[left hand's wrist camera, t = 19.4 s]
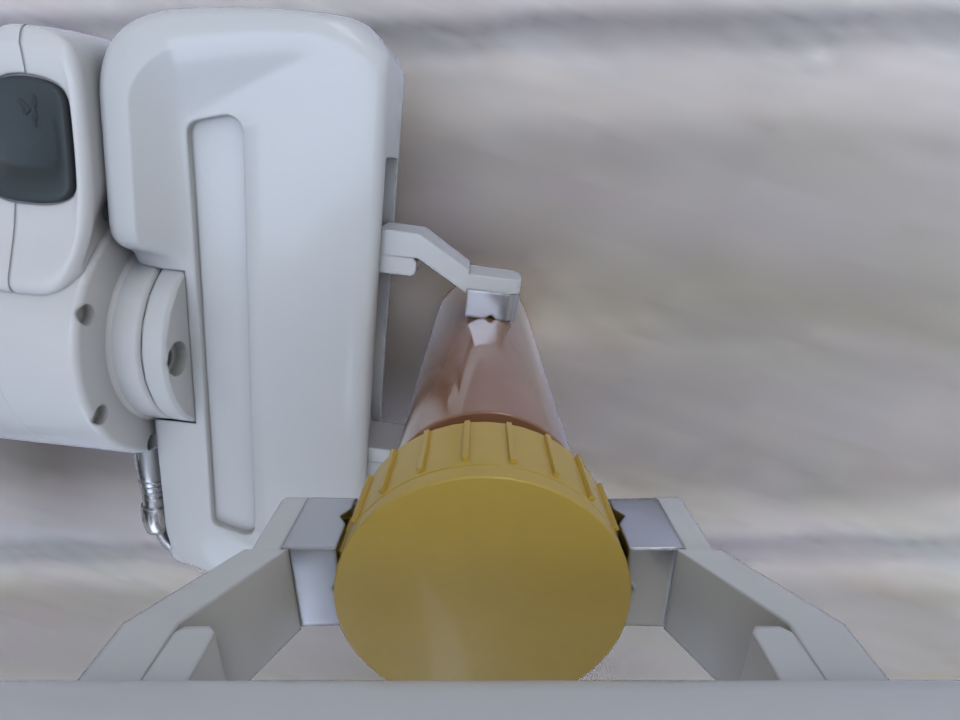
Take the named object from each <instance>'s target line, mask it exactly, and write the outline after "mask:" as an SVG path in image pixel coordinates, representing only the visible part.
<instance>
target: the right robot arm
mask: <svg viewBox="0 0 960 720" xmlns="http://www.w3.org/2000/svg"><path fill="white" fill-rule="evenodd" d="M403 89H404V75H403V71H402V68H401V66H400V65H399V63H398V61H397V60H396V58H395V57H394V55H393V54H392V52H391V51H390V49H389V48H388V47H387V45H386V44H385V43H384V42H383V40H382V39H381V38H380V37H379V36H378V35H377V34H376V33H375V32H374V31H373V30H372V29H371V28H370V27H368V26H367V25H365V24H364V23H362V22H360V21H358V20H356V19H353V18H349V17H345V16H341V15H335V14H328V13H322V12H311V11H301V10H291V9H275V8H253V7H202V8H181V9H171V10H164V11H159V12H154V13H151V14H148V15H145V16H142V17H140V18H138V19H136V20H134V21H132V22H131V23H129V24H128V25H126V26H125V27H124V28H123V29H122V30H120V31H119V32H118V33H117V35H116V36H115V37H114V38H113V40H112V41H110V40H107V39H103V38H100V37H96V36H92V35H87V34H83V33H78V32H74V31H69V30H63V29H58V28H51V27H45V26H37V25H28V24H7V25H4V26H1V27H0V438H2V439H11V440H21V441H30V442H39V443H48V444H57V445H66V446H75V447H84V448H93V449H103V450H112V451H121V452H131V453H134V461H135V469H136V474H137V478H138V481H139V484H140V488H141V493H142V503H141V517H142V522H143V525H144V527H145V529H146V531H147V533H149V534H152V535H156V536H157V538H158V540H159V541H160V542H161V544H162V545H163V546H164V547H165V548H166V549H167V550H168V551H170V552H171V555H172V557H173V558H174V559H175V560H177V561H180V562H183V563H186V564H191V565H193V566H195V567H197V568H199V569H202V570H205V571H210V570H212V569H213V568H215V567H216V566H218V565H220V564H221V563H223V562H225V561H226V560H228V559H230V558H231V557H233V556H234V555H236V554H238V553H239V552H241V551H243V550H244V549H252V548H253V547H254V545H255V543H256V542H257V540H258V539H259V537H260V535H261V534H262V532H263V530H264V529H265V527H266V525H267V524H268V522H269V520H270V519H271V517H272V516H273V514H274V512H275V511H276V509H277V507H278V506H279V504H280V502H281V501H282V500H283V499H285V498H287V497H309V498H311V497H321V498H357V499H359V497H360V494H361V491H362V488H363V486H364V483H365V480H366V478H367V476H368V475H371V476H372V475H373V474H374V473H375V471H376V470H377V469H378V467H379V466H380V465H381V464H382V463H383V462H384V461H385V460H386V459H387V458H388V457H389V454H390V451H391V450H392V449H394V448H395V449H396V450H397V449H398V445H399V442H400V438H401V435H402V432H403V428H404V425H405V424H397V423H389V422H381V408H382V393H383V379H384V364H385V350H386V335H387V321H388V306H389V292H390V278H391V274H397V275H406V276H413V275H414V274H415V273H416V271H417V270H418V268H419V266H420V265H421V263H422V262H423V263H425V264H426V265H427V266H429V267H430V268H432V269H433V270H434V271H436V272H437V273H439V274H440V275H441V276H443V277H444V278H446V279H447V280H448V281H450V282H451V283H453V284H454V285H455V286H457V287H458V288H460V289H461V290H462V291H464V292H465V293H466V291H467V296H466V305H465V316H466V317H474V318H486V317H488V316H490V315H491V316H492V317H494V318H495V319H496V320H499V321H514V320H515V317H516V312H517V306H518V301H519V295H520V288H521V282H522V278H521V275H520V273H518V272H516V271H512V270H508V269H500V268H493V267H485V266H477V265H470V260H468V259H467V258H466V257H464V256H463V255H462V254H460V253H459V252H458V251H457V250H455V249H454V248H453V247H451V246H450V245H449V244H448V243H446V242H445V241H444V240H442V239H441V238H440V237H438V236H437V235H436V234H435V233H433V232H432V231H431V230H429V229H428V228H427V227H424V226H416V225H409V224H401V223H394V220H395V205H396V191H397V176H398V162H399V147H400V133H401V119H402V104H403Z"/></svg>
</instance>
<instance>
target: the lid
mask: <svg viewBox="0 0 960 720" xmlns="http://www.w3.org/2000/svg"><path fill="white" fill-rule="evenodd" d="M618 530H619V527H618V524H617V522H616V519H615V517H614V514H613V511H612V509H611V506H610V504H609V501H608V499H607V496H606V494H605V491H604V488H603V486H602V484H601V483H598V484H597V483H596V481H595V480H594V478H593V476H592V475H591V473H590V472H589V471H588V469H587V468H586V467H585V465H584V463H583V460H582V457H581V456H579V455H577V456H574V455H573V454H572V453H571V452H570V451H569V450H568V449H566V448H565V447H563V446H562V445H560V444H559V443H557V442H556V441H554V440H552V439H551V436H550V435H548V434H545V436H544V435H542V434H540V433H538V432H535V431H532V430H529V429H526V428H523V427H519V426H515V425H512V422H506V423H495V422H470V420H466V421H464V423H461V424H454V425H450V426H446V427H442V428H438V429H435V430H432V431H430V430H429V429H428V430H425V431H424V434H422V435H420V436H418V437H416V438H415V439H413V440H411V441H409V442H407V443H406V444H404V445H403V446H401V447H400V448H399V449H397V450H396V449H395V448H394V449H392V450H391V451H390V454H389V457H388V458H387V459H386V460H385V461H384V462H383V463H382V464H381V465H380V466H379V467H378V469H377V470H376V471H375V473H374V474H373V475H372V476H371V475H368V476H367V478H366V480H365V483H364V486H363V488H362V491H361V494H360V497H359V499H358V502H357V505H356V507H355V510H354V513H353V516H352V517H351V518H350V519H349V522H348V525H347V527H346V535H345V537H344V540H343V543H342V545H341V548H340V550H339V552H340V559H339V562H338V564H337V567H336V573H335V578H334V603H335V609H336V614H337V617H338V620H339V623H340V626H341V629H342V631H343V633H344V635H345V637H346V639H347V641H348V642H349V644H350V645H351V646H352V648H353V649H354V651H355V652H356V653H357V655H358V656H359V657H360V658H361V659H362V660H363V661H364V662H365V663H366V664H367V665H368V666H369V667H370V668H371V669H373V670H374V671H375V672H376V673H377V674H379V675H380V676H381V677H383V678H384V679H386V680H387V681H416V680H579V679H580V678H582V677H583V676H584V675H586V674H587V673H589V672H590V671H591V670H592V669H593V668H594V667H595V666H597V665H598V664H599V663H600V662H601V661H602V660H603V659H604V657H605V656H606V655H607V654H608V653H609V652H610V650H611V649H612V648H613V646H614V645H615V643H616V641H617V640H618V638H619V637H620V635H621V633H622V630H623V628H624V626H625V624H626V621H627V617H628V613H629V610H630V604H631V594H632V588H631V576H630V571H629V567H628V563H627V560H626V557H625V555H624V552H623V549H622V547H621V544H620V541H619V539H618Z"/></svg>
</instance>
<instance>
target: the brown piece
mask: <svg viewBox="0 0 960 720" xmlns="http://www.w3.org/2000/svg"><path fill="white" fill-rule="evenodd" d="M466 296H467V291H466V293H465V292H464V291H462V290H461V289H460V288H458V287H455V288H454V289H452V290H451V291H450V292H449V293H448V294H447V295H446V297H445V298H444V299H443V301H442V303H441V305H440V307H439V310H438V313H437V316H436V320H435V323H434V326H433V330H432V333H431V337H430V340H429V343H428V347H427V350H426V354H425V357H424V360H423V364H422V367H421V371H420V374H419V377H418V381H417V384H416V387H415V391H414V394H413V398H412V401H411V404H410V408H409V411H408V415H407V418H406V421H405V425H404V428H403V432H402V435H401V438H400V442H399V445H398V449H399V448H400V447H401V446H403V445H404V444H406V443H407V442H409V441H411V440H413V439H415V438H416V437H418V436H420V435H422V434H424V431H425V430H428V429H429V430H430V431H432V430H435V429H438V428H442V427H446V426H450V425H454V424H461V423H464V421H466V420H470V422H495V423H506V422H512V425H515V426H519V427H523V428H526V429H529V430H532V431H535V432H538V433H540V434H542V435H544V436H545V434H548V435H550V436H551V439H552V440H554V441H556V442H557V443H559V444H560V445H562V446H563V447H565V448H566V449H568V450H569V451H570V449H569V446H568V443H567V439H566V436H565V433H564V430H563V427H562V424H561V421H560V418H559V415H558V411H557V408H556V405H555V402H554V399H553V396H552V393H551V390H550V386H549V383H548V380H547V377H546V374H545V371H544V368H543V365H542V362H541V358H540V355H539V352H538V349H537V346H536V343H535V340H534V337H533V333H532V330H531V327H530V324H529V321H528V318H527V315H526V312H525V309H524V306H523V304H522V302H521V300H520V299H519V301H518V306H517V312H516V317H515V320H514V321H499V320H496V319H495V318H494V317H492V316H491V315H490V316H488V317H486V318H474V317H466V316H465V305H466Z"/></svg>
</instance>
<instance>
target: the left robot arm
mask: <svg viewBox="0 0 960 720" xmlns="http://www.w3.org/2000/svg"><path fill="white" fill-rule="evenodd" d="M608 501H609V504H610V506H611V509H612V511H613V514H614V517H615V519H616V522H617V524H618V527H619V530H618V539H619V541H620V544H621V547H622V549H623V552H624V555H625V557H626V560H627V563H628V567H629V571H630V576H631V588H632V594H631V604H630V610H629V613H628V617H627V621H626V624H625V625H634V626H664V629H665V630H666V631H667V632H668V633H669V634H670V635H671V636H672V637H673V638H674V639H675V640H676V641H677V642H678V643H679V644H680V645H681V646H682V647H683V648H684V649H685V650H686V651H687V652H688V653H689V654H690V655H691V656H692V657H693V658H694V659H695V660H696V661H697V662H698V663H699V664H700V665H701V666H702V667H703V668H704V669H705V670H706V671H707V672H708V673H709V674H710V675H711V676H712V677H713V678H714V679H715V680H716V681H680V680H416V681H250V680H251V679H252V678H253V677H254V676H255V675H256V674H257V673H258V672H259V671H260V670H261V669H262V668H263V667H264V666H265V665H266V664H267V663H268V662H269V660H270V659H271V658H272V657H273V656H274V655H275V654H276V653H277V652H278V651H279V650H280V649H281V648H282V647H283V646H284V645H285V644H286V643H287V642H288V641H289V640H290V639H291V638H292V637H293V636H294V635H295V634H296V633H297V632H298V631H299V630H300V629H301V627H300V626H330V625H340V623H339V620H338V617H337V614H336V609H335V603H334V578H335V573H336V567H337V564H338V562H339V559H340V552H339V550H340V548H341V545H342V543H343V540H344V537H345V535H346V527H347V525H348V522H349V519H350V518H351V517H352V516H353V513H354V510H355V507H356V505H357V502H358V499H357V498H321V497H311V498H309V497H287V498H285V499H283V500H282V501H281V502H280V504H279V506H278V507H277V509H276V511H275V512H274V514H273V516H272V517H271V519H270V520H269V522H268V524H267V525H266V527H265V529H264V530H263V532H262V534H261V535H260V537H259V539H258V540H257V542H256V543H255V545H254V547H253V548H252V549H244V550H243V551H241V552H239V553H238V554H236V555H234V556H233V557H231V558H230V559H228V560H226V561H225V562H223V563H221V564H220V565H218V566H216V567H215V568H213V569H212V570H210V571H208V572H207V573H205V574H203V575H202V576H200V577H198V578H197V579H195V580H193V581H192V582H190V583H189V584H187V585H185V586H184V587H182V588H180V589H179V590H177V591H175V592H174V593H172V594H171V595H169V596H167V597H166V598H164V599H162V600H161V601H159V602H157V603H156V604H154V605H152V606H151V607H149V608H148V609H146V610H144V611H143V612H141V613H139V614H138V615H136V616H134V617H133V618H131V619H130V620H128V621H126V622H125V623H123V624H122V625H121V626H120V627H119V629H118V630H117V631H116V633H115V634H114V635H113V636H112V638H111V639H110V640H109V641H108V643H107V644H106V645H105V646H104V648H103V649H102V650H101V651H100V653H99V654H98V655H97V656H96V658H95V659H94V660H93V661H92V663H91V664H90V665H89V667H88V668H87V669H86V670H85V672H84V673H83V674H82V675H81V677H80V678H79V679H78V680H0V720H960V680H889V679H888V678H887V676H886V675H885V674H884V673H883V671H882V670H881V669H880V668H879V666H878V665H877V664H876V663H875V661H874V660H873V659H872V658H871V656H870V655H869V654H868V653H867V651H866V650H865V649H864V648H863V646H862V645H861V644H860V643H859V641H858V640H857V639H856V638H855V637H854V635H853V634H852V633H851V632H850V630H849V629H848V628H847V627H846V625H845V624H843V623H841V622H840V621H838V620H836V619H835V618H833V617H831V616H830V615H828V614H827V613H825V612H823V611H822V610H820V609H818V608H817V607H815V606H813V605H812V604H810V603H808V602H807V601H805V600H803V599H802V598H800V597H798V596H797V595H795V594H794V593H792V592H790V591H789V590H787V589H785V588H784V587H782V586H780V585H779V584H777V583H775V582H774V581H772V580H770V579H769V578H767V577H766V576H764V575H762V574H761V573H759V572H757V571H756V570H754V569H752V568H751V567H749V566H747V565H746V564H744V563H742V562H741V561H739V560H737V559H736V558H734V557H733V556H731V555H729V554H728V553H726V552H724V551H723V550H721V549H713V548H712V547H711V545H710V543H709V542H708V540H707V539H706V537H705V535H704V534H703V532H702V531H701V529H700V527H699V526H698V524H697V523H696V521H695V520H694V518H693V516H692V515H691V513H690V512H689V510H688V508H687V507H686V505H685V504H684V502H683V500H682V499H680V498H679V497H658V498H635V499H608Z"/></svg>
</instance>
